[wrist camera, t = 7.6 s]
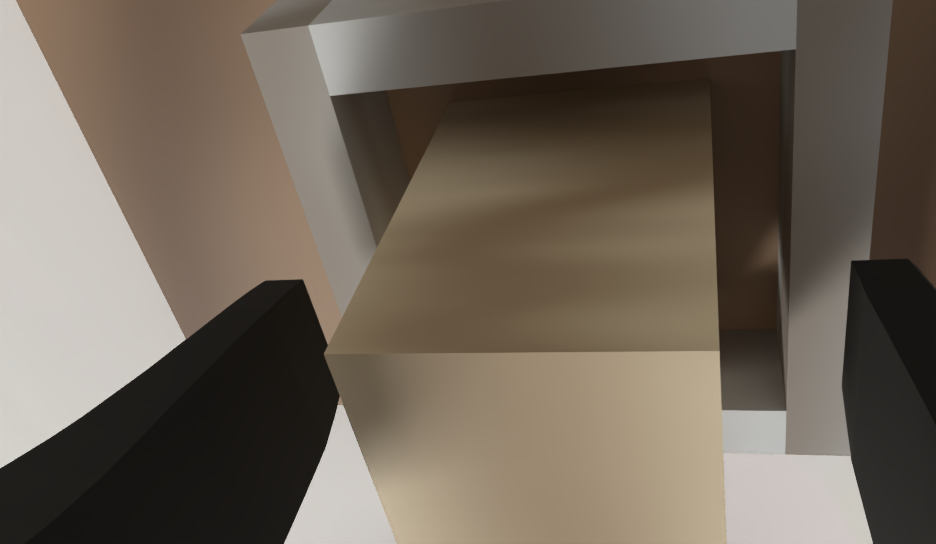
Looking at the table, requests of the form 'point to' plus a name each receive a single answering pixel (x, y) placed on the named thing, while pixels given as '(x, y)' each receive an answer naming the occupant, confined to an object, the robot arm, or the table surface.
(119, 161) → the socket stand
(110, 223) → the table surface
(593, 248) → the peg
